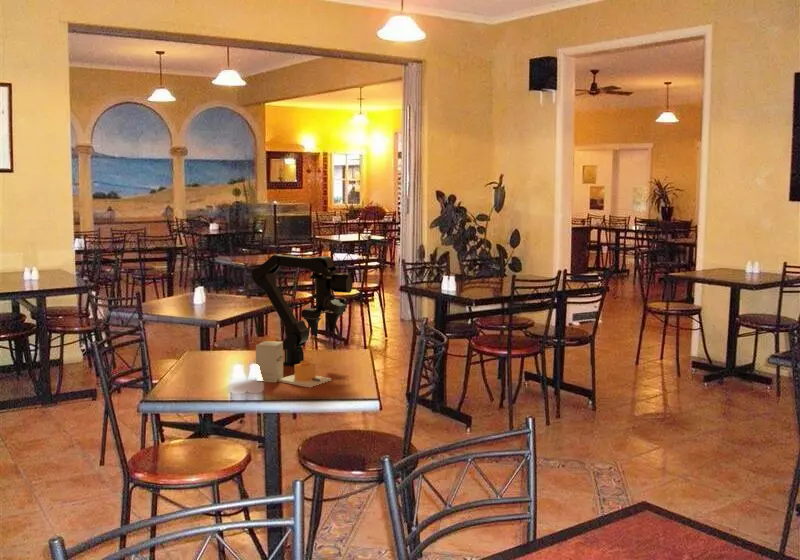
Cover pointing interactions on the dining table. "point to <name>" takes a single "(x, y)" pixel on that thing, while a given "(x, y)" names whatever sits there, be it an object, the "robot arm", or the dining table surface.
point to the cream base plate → (309, 383)
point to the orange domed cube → (304, 371)
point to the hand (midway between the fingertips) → (324, 334)
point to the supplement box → (270, 360)
